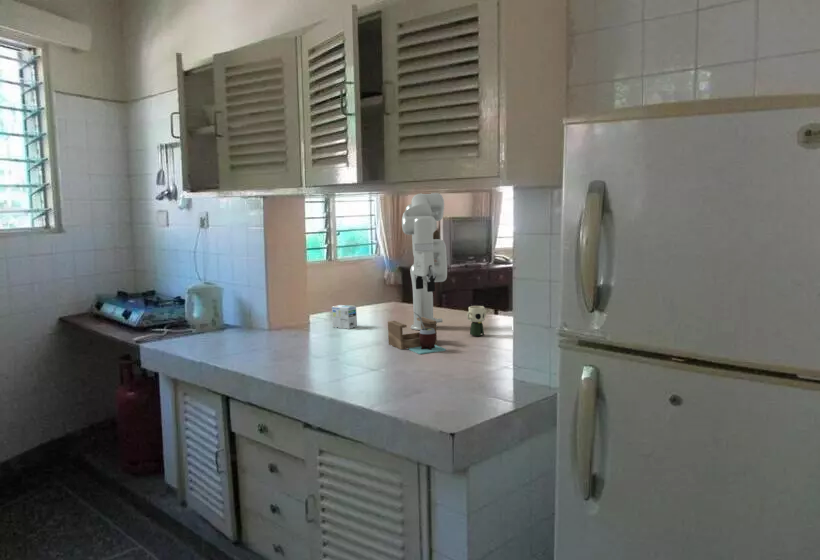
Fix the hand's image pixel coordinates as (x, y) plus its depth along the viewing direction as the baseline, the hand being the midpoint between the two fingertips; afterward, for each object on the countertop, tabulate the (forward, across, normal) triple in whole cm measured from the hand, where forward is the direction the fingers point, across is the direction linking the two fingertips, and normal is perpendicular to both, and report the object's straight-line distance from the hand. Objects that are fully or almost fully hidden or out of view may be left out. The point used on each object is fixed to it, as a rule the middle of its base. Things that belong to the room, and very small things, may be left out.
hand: (425, 290), depth 259 cm
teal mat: (+25, 0, 0) cm, 25 cm away
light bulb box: (+26, -67, -10) cm, 72 cm away
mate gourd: (+24, 0, 0) cm, 24 cm away
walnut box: (+25, -13, 0) cm, 28 cm away
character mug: (+25, -12, +32) cm, 42 cm away
